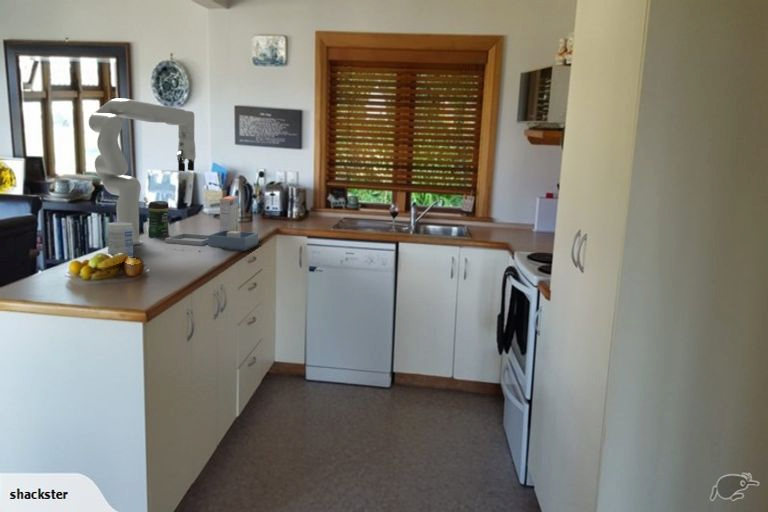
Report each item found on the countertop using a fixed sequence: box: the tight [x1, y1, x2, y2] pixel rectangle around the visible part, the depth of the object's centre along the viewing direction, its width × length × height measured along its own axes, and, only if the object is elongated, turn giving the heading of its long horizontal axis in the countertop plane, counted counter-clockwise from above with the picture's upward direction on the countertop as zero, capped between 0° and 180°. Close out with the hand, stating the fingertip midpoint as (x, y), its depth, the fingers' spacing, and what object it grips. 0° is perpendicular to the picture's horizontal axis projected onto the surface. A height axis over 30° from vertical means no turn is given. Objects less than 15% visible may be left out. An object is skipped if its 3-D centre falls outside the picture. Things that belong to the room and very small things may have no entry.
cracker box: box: [219, 195, 239, 231], centre depth 317 cm, size 14×6×21 cm, turn 177°
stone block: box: [227, 231, 242, 238], centre depth 293 cm, size 5×5×6 cm
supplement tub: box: [107, 221, 134, 257], centre depth 251 cm, size 10×10×15 cm
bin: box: [207, 230, 259, 252], centre depth 293 cm, size 18×18×6 cm
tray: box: [164, 232, 209, 247], centre depth 295 cm, size 18×18×3 cm
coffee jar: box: [147, 200, 170, 239], centre depth 303 cm, size 10×8×19 cm
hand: (186, 170), depth 306 cm, fingers open, 9 cm apart
